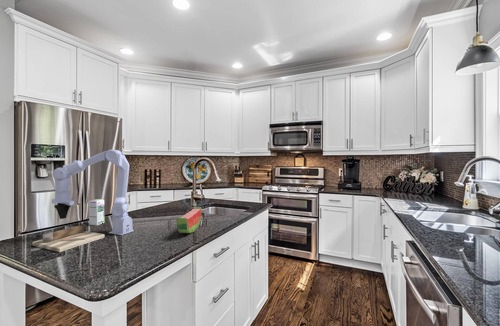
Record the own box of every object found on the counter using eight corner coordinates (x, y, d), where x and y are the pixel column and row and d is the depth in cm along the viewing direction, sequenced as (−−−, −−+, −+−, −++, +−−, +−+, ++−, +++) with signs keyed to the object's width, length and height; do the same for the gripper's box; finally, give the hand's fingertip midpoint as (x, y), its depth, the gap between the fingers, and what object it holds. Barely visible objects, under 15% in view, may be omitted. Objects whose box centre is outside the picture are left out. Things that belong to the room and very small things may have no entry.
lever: (45, 242, 106) (45, 235, 106) (41, 241, 108) (40, 234, 107) (87, 230, 123) (87, 224, 123) (83, 229, 125) (83, 223, 125)
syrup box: (97, 225, 140) (97, 200, 139) (88, 224, 141) (88, 200, 141) (105, 222, 145) (104, 199, 145) (96, 222, 146) (96, 198, 146)
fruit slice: (192, 223, 144) (192, 207, 144) (202, 223, 143) (202, 207, 143) (175, 238, 118) (175, 218, 118) (187, 238, 117) (187, 218, 117)
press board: (104, 237, 119) (104, 234, 119) (59, 252, 100) (59, 248, 100) (78, 232, 127) (78, 229, 127) (32, 245, 108) (32, 241, 108)
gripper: (44, 191, 119) (45, 218, 119) (62, 193, 113) (63, 221, 114) (60, 190, 125) (60, 215, 126) (78, 191, 120) (78, 218, 120)
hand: (63, 218), depth 120 cm, fingers closed
